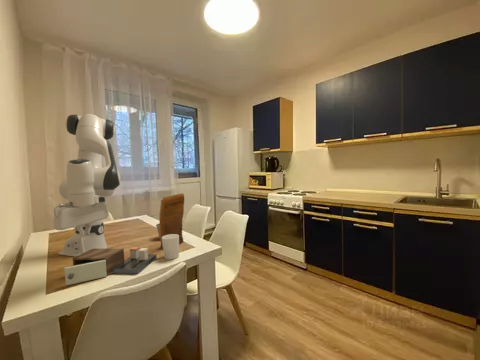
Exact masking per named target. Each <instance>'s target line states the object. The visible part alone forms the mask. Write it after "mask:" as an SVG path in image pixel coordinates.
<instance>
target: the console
mask: <svg viewBox="0 0 480 360" xmlns="http://www.w3.org/2000/svg"><path fill="white" fill-rule="evenodd" d="M157 258H158V257H157V254H155V253H154V254H153V253H148V258H147V259H146V260H139V257H138V258H137V259H131V256H130V257H128V258H127V259H124V262H122V263H120V264H119V265H117V266H116V267H114V268H113V269H112V273H111V274H112V275H139V274H140V273H142V271H143V270H145V268H147V267H148V266H149V265H150V264H152V263H153V262H154V261H156V260H157Z"/></svg>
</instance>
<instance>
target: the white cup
mask: <svg viewBox="0 0 480 360" xmlns="http://www.w3.org/2000/svg"><path fill="white" fill-rule="evenodd" d="M162 245H163V249H162V251H163V258H164V260H175V259H177V258H178V257H179V256H180V254H179V253H180V244H179V235H178V234H169V235H165V236H163V237H162Z"/></svg>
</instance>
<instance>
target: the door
mask: <svg viewBox="0 0 480 360" xmlns="http://www.w3.org/2000/svg"><path fill="white" fill-rule="evenodd" d="M107 276H108V275H107V272H106V260H101V261H96V262H91V263H86V264H81V265H75V266H73V265H72V266H67V267H66V266H65V267H64V280H65V286H71V285H75V284H79V283H84V282H88V281H92V280H96V279H101V278H107Z"/></svg>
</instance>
